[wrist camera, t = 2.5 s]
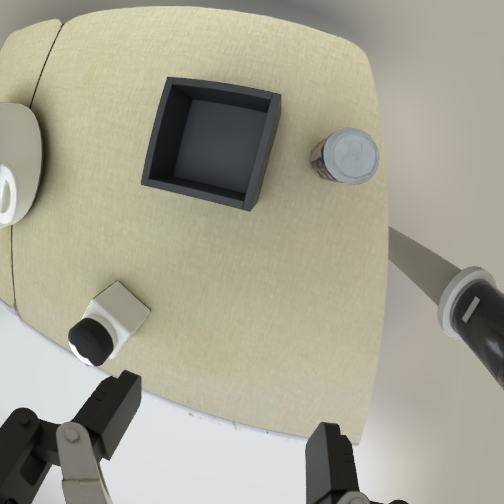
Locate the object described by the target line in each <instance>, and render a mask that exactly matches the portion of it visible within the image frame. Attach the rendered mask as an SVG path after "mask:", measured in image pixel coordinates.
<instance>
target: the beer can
mask: <svg viewBox="0 0 504 504" xmlns="http://www.w3.org/2000/svg"><path fill="white" fill-rule="evenodd" d="M310 164H311V167H312V169H313V171H314V172H315V174H316V175H317V176H319V177H320V178H322V179H324V180H329V181H336V182H341V183H345V184H349V185H357V184H362V183H364V182H366V181H368V180H369V179H370V178H371V177H372V176H373V175H374V174H375V172H376V170H377V167H378V164H379V153H378V149H377V146H376V144H375V142H374V141H373V140H372V138H371V137H370V136H369V135H368V134H366V133H365V132H363V131H361V130H359V129H356V128H342V129H340V130H337V131H335V132H334V133H332V134H331V135H330V136H328V137H327V138H326V139H324V140H323V141H322V142H320V143H319V144H318V145H316V147H315V148H314V149H313V151H312V153H311V156H310Z"/></svg>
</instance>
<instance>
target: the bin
mask: <svg viewBox="0 0 504 504" xmlns="http://www.w3.org/2000/svg"><path fill="white" fill-rule="evenodd" d="M280 115H281V94H278V93H272V92H269V91H264V90H259V89H254V88H249V87H244V86H238V85H233V84H226V83H220V82H213V81H205V80H197V79H187V78H176V77H175V78H174V77H167V80H166V83H165V86H164V89H163V93H162V96H161V99H160V103H159V106H158V110H157V114H156V118H155V121H154V125H153V129H152V133H151V137H150V142H149V146H148V151H147V155H146V160H145V165H144V170H143V175H142V180H141V185H144V186H148V187H153V188H157V189H162V190H166V191H170V192H174V193H179V194H183V195H187V196H191V197H195V198H199V199H203V200H207V201H211V202H215V203H219V204H223V205H227V206H231V207H235V208H239V209H243V210H246V211H251V210H252V208H253V207H254V206H255V205H256V203H257V201H258V198H259V194H260V190H261V186H262V182H263V179H264V175H265V171H266V167H267V163H268V160H269V156H270V152H271V148H272V145H273V141H274V137H275V133H276V130H277V126H278V122H279V119H280Z"/></svg>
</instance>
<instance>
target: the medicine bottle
mask: <svg viewBox="0 0 504 504" xmlns="http://www.w3.org/2000/svg"><path fill="white" fill-rule="evenodd" d="M149 314H150V310H149V309H148V308H147V307H146V306H145V305H144V304H142V303H141V302H140V301H139V300H138V299H137V298H136V297H135V296H133V295H132V294H131V293H130V292H129V291H128V290H127V289H126V288H125V287H124V286H123V285H122V284H120V283H119V282H118V281H115V282H114V283H113V284H111V285H110V286H109V287H107V288H106V289H105V290H103V291H102V292H101V293H99V294H98V295H97V296H95V297H94V298H93V299H92V300H91V302H90V304H89V306H88V307H87V309H86V311H85V313H84V315H83V317H82V319H81V321H80V322H78V323H77V324H76V325H75V326H74V327H72V328H71V329H70V331H69V334H68V339H69V344H70V346H71V348H72V350H73V352H74V353H75V355H76V356H77V357H78V358H79V359H80V360H81V361H83V362H84V363H86V364H88V365H91V366H100V365H102V364H103V363H104V362H105V360H106V359H107V358H108V357H109V358H111V359H114V358H115V356H116V355H117V354H118V353H119V352H120V350H121V349H122V348H123V347H124V346H125V344H126V343H127V342H128V341H129V340H130V338H131V337H132V336H133V335H134V333H135V332H136V331H137V329H138V328H139V327H140V326H141V324H142V323H143V322H144V320H145V319H146V318H147V316H148V315H149Z"/></svg>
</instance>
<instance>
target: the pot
mask: <svg viewBox="0 0 504 504" xmlns="http://www.w3.org/2000/svg"><path fill="white" fill-rule="evenodd" d="M43 158H44V156H43V139H42V132H41V129H40V125H39V123H38V120H37V118H36V117H35V115H34V113H33V112H32V111H31V110H30V109H29V108H28V107H26V106H24V105H22V104H16V103H6V102H0V229H1V228H4V227H7V226H10V225H13V224H14V223H16V222H18V221H19V220H21V219H22V218H23V217H24V216H25V215H26V214H27V212H28V210H29V209H30V207H31V206H32V204H33V202H34V200H35V197H36V195H37V192H38V188H39V185H40V181H41V175H42V170H43Z"/></svg>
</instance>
